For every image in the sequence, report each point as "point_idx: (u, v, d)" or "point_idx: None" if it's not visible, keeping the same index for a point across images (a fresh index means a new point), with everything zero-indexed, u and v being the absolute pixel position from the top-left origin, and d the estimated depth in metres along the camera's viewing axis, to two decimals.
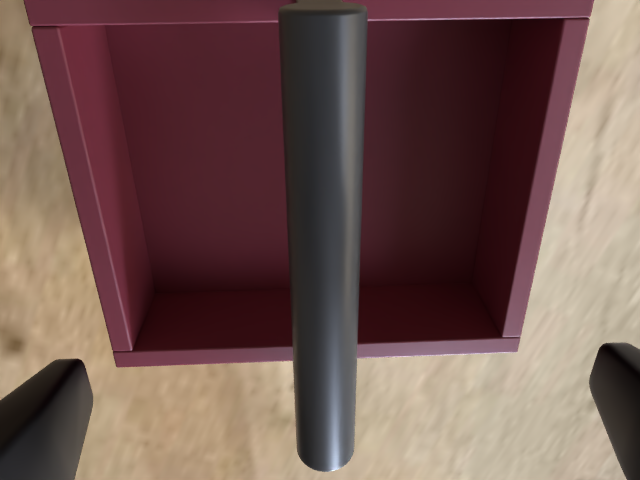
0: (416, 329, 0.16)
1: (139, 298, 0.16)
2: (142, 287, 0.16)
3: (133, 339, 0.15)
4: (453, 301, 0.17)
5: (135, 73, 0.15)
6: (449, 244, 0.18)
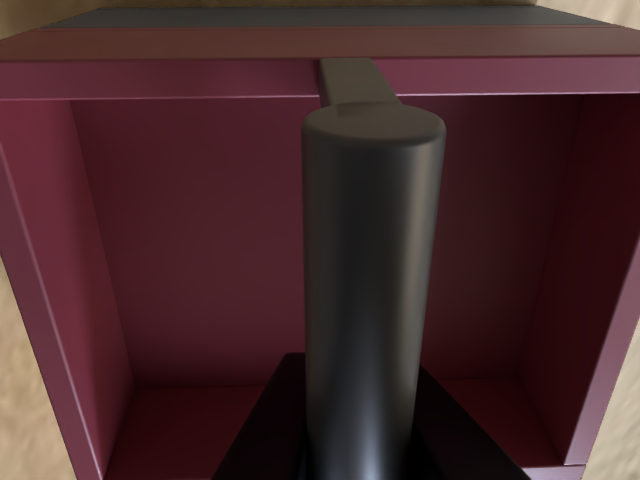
0: None
1: (112, 409, 0.13)
2: (117, 392, 0.13)
3: (104, 466, 0.12)
4: (497, 406, 0.14)
5: (105, 139, 0.11)
6: (493, 335, 0.14)
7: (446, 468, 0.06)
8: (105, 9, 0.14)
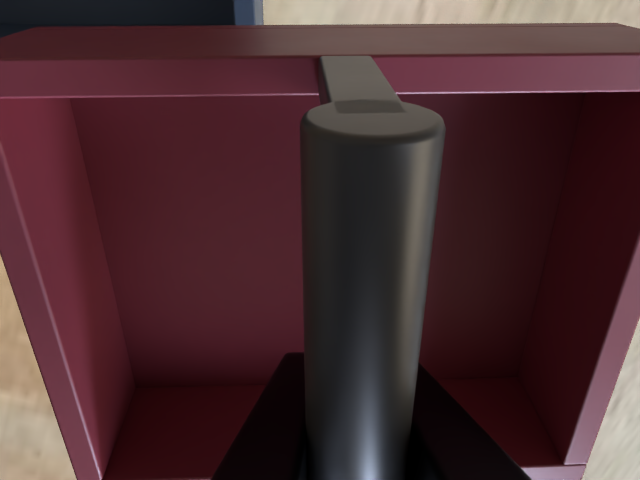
0: None
1: (112, 407, 0.13)
2: (117, 391, 0.13)
3: (103, 465, 0.12)
4: (498, 405, 0.14)
5: (106, 138, 0.11)
6: (493, 335, 0.14)
7: (446, 468, 0.06)
8: None
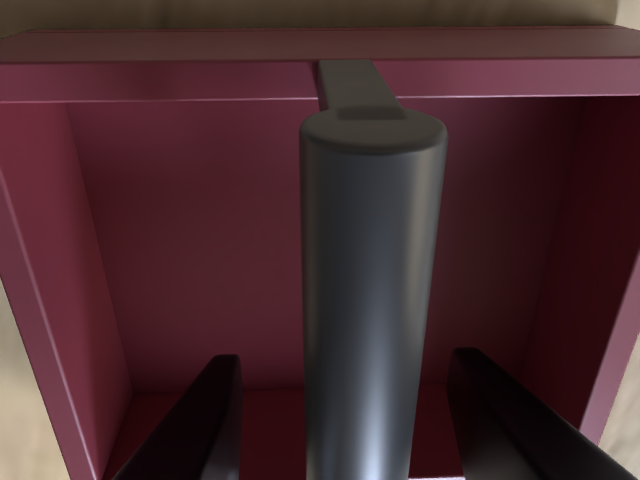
0: (457, 457, 0.13)
1: (109, 414, 0.13)
2: (114, 398, 0.13)
3: (100, 473, 0.12)
4: None
5: (102, 141, 0.11)
6: (494, 339, 0.14)
7: (545, 464, 0.06)
8: None
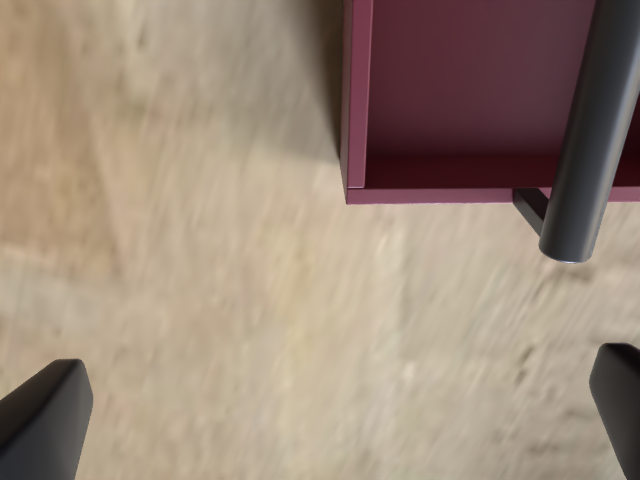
0: None
1: None
2: None
3: None
4: (629, 164, 0.19)
5: None
6: None
7: None
8: None
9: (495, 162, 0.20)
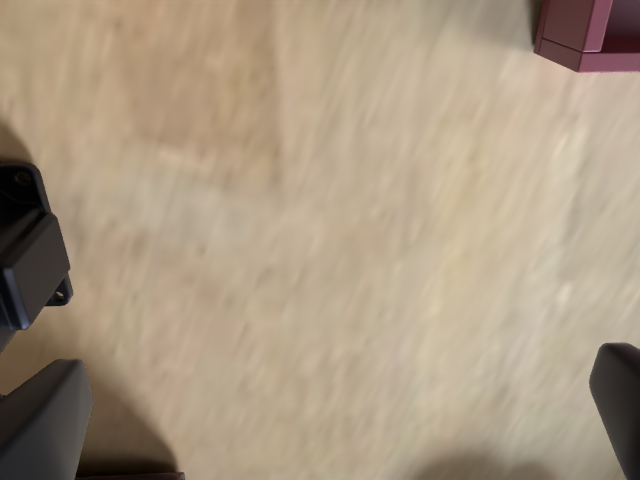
0: None
1: None
2: None
3: None
4: None
5: None
6: None
7: None
8: None
9: None
